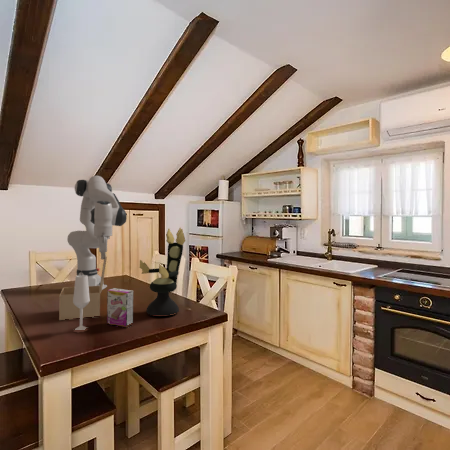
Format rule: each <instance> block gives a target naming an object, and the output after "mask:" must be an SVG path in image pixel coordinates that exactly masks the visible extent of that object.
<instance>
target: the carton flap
mask: <svg viewBox="0 0 450 450" xmlns="http://www.w3.org/2000/svg"><path fill="white" fill-rule="evenodd" d="M107 258H108V255H107V252H105V259H103V263H102V270H101V275H100V277H101V282H100V294H101V293H102V291H103V290H102V286H103V284H104V277H105V271H106V264H107Z"/></svg>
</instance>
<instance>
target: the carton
mask: <svg viewBox="0 0 450 450" xmlns="http://www.w3.org/2000/svg"><path fill="white" fill-rule="evenodd" d="M74 288H75V286H72V287H71V286H69V287H62V288H61V292H60V294H59V296H58V297H59V307H58V310H59V312H58V313H59V314H58V316H59V317H58V320H59V321H66V320H65V319H69V320H74V319H73V318H80V308H78V307H77V306H75V305H74V303H73V297H74ZM89 297H90V301H89V303H88V304H87V305H86V306H85V307H84V308H83V319H85V318H84V317H92V318H95V317H94V316H100V317H101V293H100V286H89Z"/></svg>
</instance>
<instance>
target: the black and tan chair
mask: <svg viewBox="0 0 450 450" xmlns="http://www.w3.org/2000/svg"><path fill="white" fill-rule="evenodd" d="M167 229H168V230H166V231H167V232H166V241H165V242H167V244H168V245H167V256H166V257H167V259H166V267H164V266H162V265H161V264H158V268H150V267H149V266H148V264H147V263H146V262H145V261H143V260H141V259H139V269H141V274H144V275H145V274H155V273H156V274H157V273H158V274H160V277H158V278H156V279H154V280H153V281H151V283H150V284H149V289H150V290H151V291H152V292H153V293H156V295H157V296H156V297H155V299H154V300H152V301H151V302H150V303H149V305H147V307H146V313H147V314H148V315H149V314H150V315H149V316H151V315H170V314H174V313H177V312H178V313H179V312H180V308H179V306H178V304H177V303H176V302H175V301H174V300H173V299H172V298H171V297H170V294H169V293H172V292H174V291H176V289H177V287H178V284H177V283H178V282H177V281H178V277H179V276H178V275H179V269H180V266H181V260H182V256H183V251H184V243H185V242H186V237H185V234H184V233H185V232H184V230H183V228H182V227H181V226H179V229H178V230H177V232H176V238H175V237H174V235H173V233H172V232H171V230H170V229H171V228H167ZM178 313H177V314H178Z"/></svg>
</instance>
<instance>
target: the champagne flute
mask: <svg viewBox="0 0 450 450" xmlns="http://www.w3.org/2000/svg"><path fill="white" fill-rule="evenodd" d="M75 278H76V279H75ZM75 278H74V279H75V280H74V287H75V288H74V297H73V303H74V305H75V306H77V307H78V308H80V319H79V326H77V327H76V328H74V329H75V330H85V329H86V328H88V327H86V326H85V325H83V323H84V322H83V319H84V318H83V308H84V307H85V306H86V305H87V304H88V303H89V301H90V297H89V286H88V276H87V275H78V276H77V275H75Z"/></svg>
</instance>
